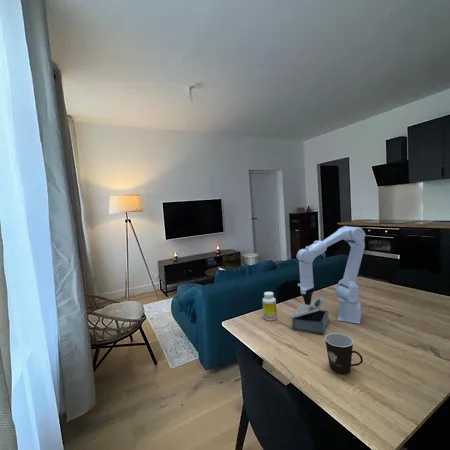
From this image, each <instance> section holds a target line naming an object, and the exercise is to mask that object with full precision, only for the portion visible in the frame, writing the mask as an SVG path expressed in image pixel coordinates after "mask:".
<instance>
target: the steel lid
mask: <svg viewBox="0 0 450 450" xmlns="http://www.w3.org/2000/svg"><path fill="white" fill-rule="evenodd" d="M325 299H326V297H324V296H322V297H319V298H317V299H313V300H311V304H310V305H305V302H304V303H300V304H298V305H297V307H296V308H295V310H294V311H292V312H293V313H292V314H291V315H290V319H291V320H292V318H295V317H299V316H302V315H306V314H309V313H312V312H316V311H319V310H321V307H322V305H323V303H324V301H325Z"/></svg>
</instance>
